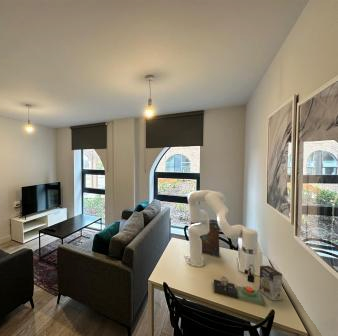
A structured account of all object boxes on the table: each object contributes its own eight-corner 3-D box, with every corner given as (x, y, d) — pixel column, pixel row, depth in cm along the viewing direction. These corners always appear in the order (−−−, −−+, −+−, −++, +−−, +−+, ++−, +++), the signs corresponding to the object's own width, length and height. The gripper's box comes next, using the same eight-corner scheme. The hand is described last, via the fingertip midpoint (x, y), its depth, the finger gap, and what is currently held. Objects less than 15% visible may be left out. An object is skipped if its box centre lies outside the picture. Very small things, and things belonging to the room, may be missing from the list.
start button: (245, 292, 114) (245, 289, 113) (244, 288, 117) (244, 285, 117) (253, 294, 112) (253, 291, 112) (252, 289, 115) (252, 287, 115)
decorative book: (219, 253, 167) (219, 220, 165) (219, 257, 160) (219, 222, 159) (190, 248, 178) (190, 217, 176) (190, 251, 172) (190, 219, 170)
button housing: (238, 299, 113) (238, 292, 113) (236, 288, 122) (236, 282, 122) (263, 305, 108) (263, 298, 107) (258, 294, 117) (259, 287, 116)
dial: (229, 287, 118) (229, 279, 118) (223, 288, 118) (223, 280, 118) (225, 283, 122) (225, 275, 122) (219, 284, 122) (219, 276, 122)
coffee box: (258, 290, 120) (259, 265, 119) (268, 289, 121) (268, 265, 120) (272, 300, 111) (272, 274, 110) (282, 299, 112) (282, 273, 111)
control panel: (214, 293, 118) (214, 288, 118) (213, 283, 127) (213, 278, 127) (236, 298, 113) (236, 293, 113) (234, 288, 122) (234, 283, 122)
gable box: (238, 257, 159) (238, 225, 157) (257, 262, 152) (258, 228, 151) (239, 271, 140) (240, 234, 138) (262, 277, 133) (262, 238, 132)
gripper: (239, 242, 123) (239, 268, 124) (245, 255, 107) (244, 285, 108) (253, 244, 119) (253, 271, 120) (261, 258, 104) (260, 288, 105)
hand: (249, 277), depth 114 cm, fingers open, 7 cm apart
